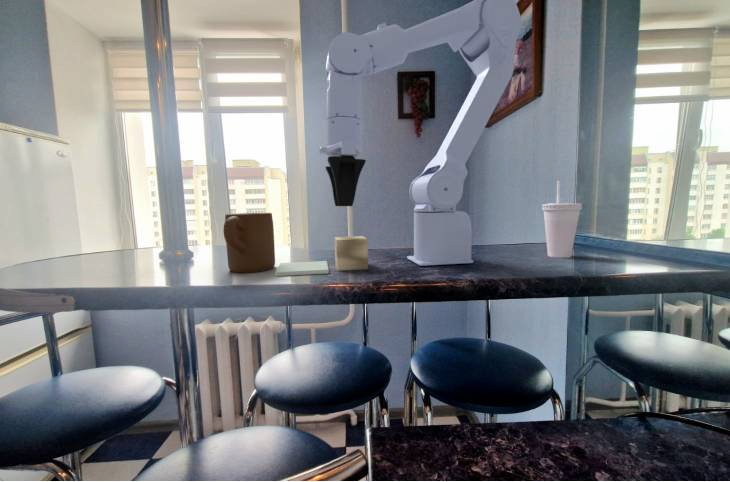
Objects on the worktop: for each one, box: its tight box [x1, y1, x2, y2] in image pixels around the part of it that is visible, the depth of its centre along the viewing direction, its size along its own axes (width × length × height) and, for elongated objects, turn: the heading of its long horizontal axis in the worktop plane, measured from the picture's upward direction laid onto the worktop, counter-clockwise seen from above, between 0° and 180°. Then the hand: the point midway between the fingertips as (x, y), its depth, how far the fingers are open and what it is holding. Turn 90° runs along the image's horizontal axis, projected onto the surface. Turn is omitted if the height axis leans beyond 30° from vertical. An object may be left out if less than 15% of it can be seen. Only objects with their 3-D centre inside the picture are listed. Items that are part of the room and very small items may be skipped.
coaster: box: [274, 260, 330, 277], centre depth 53 cm, size 8×8×1 cm
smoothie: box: [541, 180, 583, 259], centre depth 59 cm, size 6×6×14 cm
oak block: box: [334, 235, 369, 271], centre depth 54 cm, size 5×5×5 cm
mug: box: [223, 212, 276, 274], centre depth 52 cm, size 12×8×9 cm, turn 178°
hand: (343, 206), depth 53 cm, fingers open, 7 cm apart
